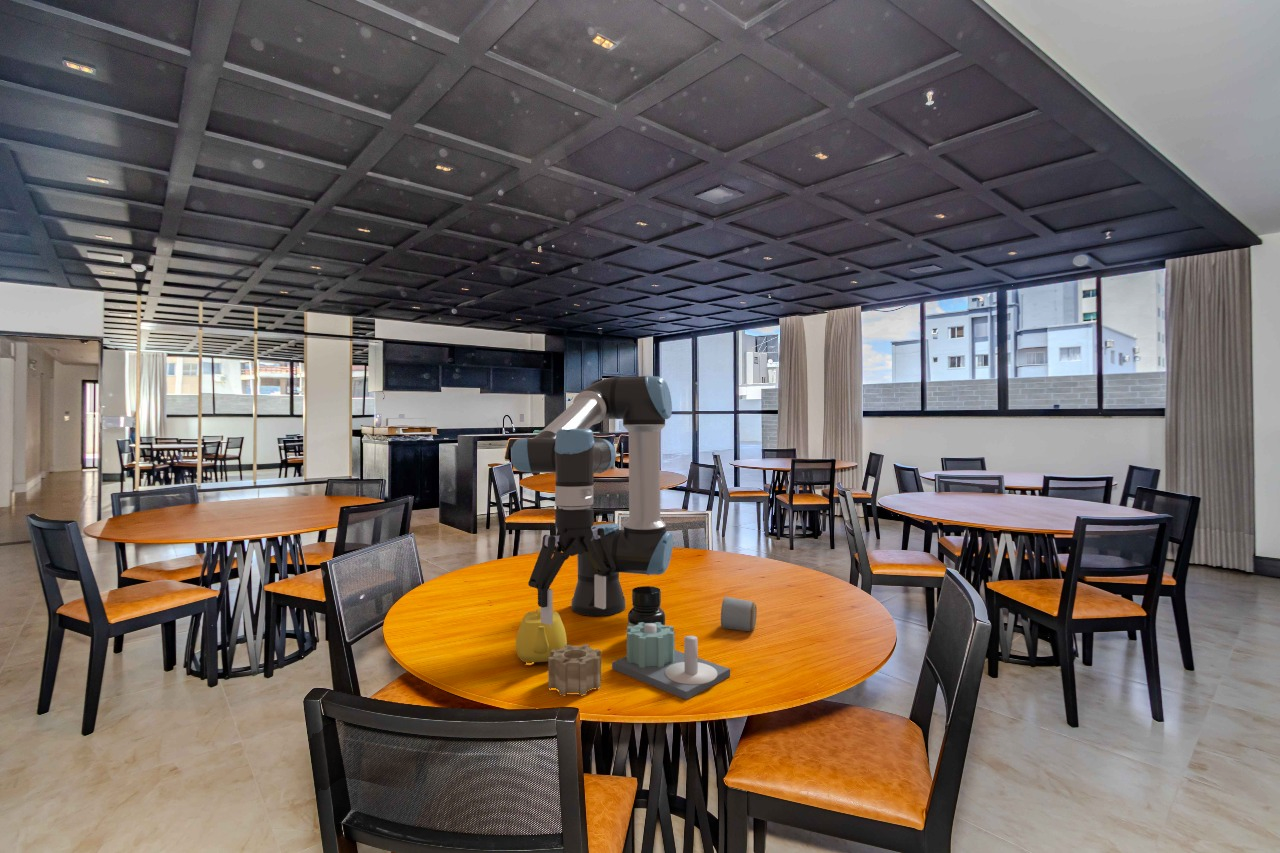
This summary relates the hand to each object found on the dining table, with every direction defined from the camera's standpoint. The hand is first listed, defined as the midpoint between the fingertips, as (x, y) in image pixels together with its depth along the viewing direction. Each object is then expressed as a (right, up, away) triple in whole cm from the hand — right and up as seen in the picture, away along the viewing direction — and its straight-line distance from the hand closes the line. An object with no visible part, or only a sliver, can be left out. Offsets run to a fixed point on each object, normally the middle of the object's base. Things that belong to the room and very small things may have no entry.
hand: (574, 615), depth 113 cm
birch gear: (0, -14, 0) cm, 14 cm away
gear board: (+19, -14, +5) cm, 24 cm away
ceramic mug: (+38, -14, +33) cm, 52 cm away
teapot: (-9, -14, +13) cm, 21 cm away
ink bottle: (+14, -14, +24) cm, 31 cm away
